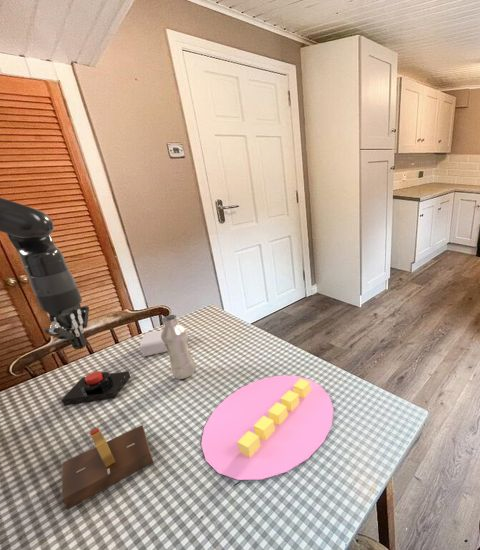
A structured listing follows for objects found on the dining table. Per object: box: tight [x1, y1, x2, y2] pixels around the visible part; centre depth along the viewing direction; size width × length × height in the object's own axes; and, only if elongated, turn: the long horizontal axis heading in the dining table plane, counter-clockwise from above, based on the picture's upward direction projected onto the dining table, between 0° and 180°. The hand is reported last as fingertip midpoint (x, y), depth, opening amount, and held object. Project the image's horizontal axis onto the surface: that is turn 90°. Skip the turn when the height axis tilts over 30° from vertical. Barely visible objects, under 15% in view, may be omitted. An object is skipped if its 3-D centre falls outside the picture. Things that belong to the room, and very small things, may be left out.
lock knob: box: [89, 427, 115, 467], centre depth 63 cm, size 6×2×6 cm, turn 52°
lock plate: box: [61, 424, 155, 510], centre depth 65 cm, size 14×10×3 cm
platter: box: [200, 375, 334, 481], centre depth 77 cm, size 32×32×3 cm
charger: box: [139, 329, 194, 358], centre depth 106 cm, size 5×9×15 cm
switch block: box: [61, 370, 131, 407], centre depth 86 cm, size 12×9×4 cm
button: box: [84, 371, 103, 385], centre depth 85 cm, size 4×4×2 cm
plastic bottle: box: [161, 314, 197, 380], centre depth 89 cm, size 6×7×20 cm
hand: (80, 347), depth 81 cm, fingers closed
